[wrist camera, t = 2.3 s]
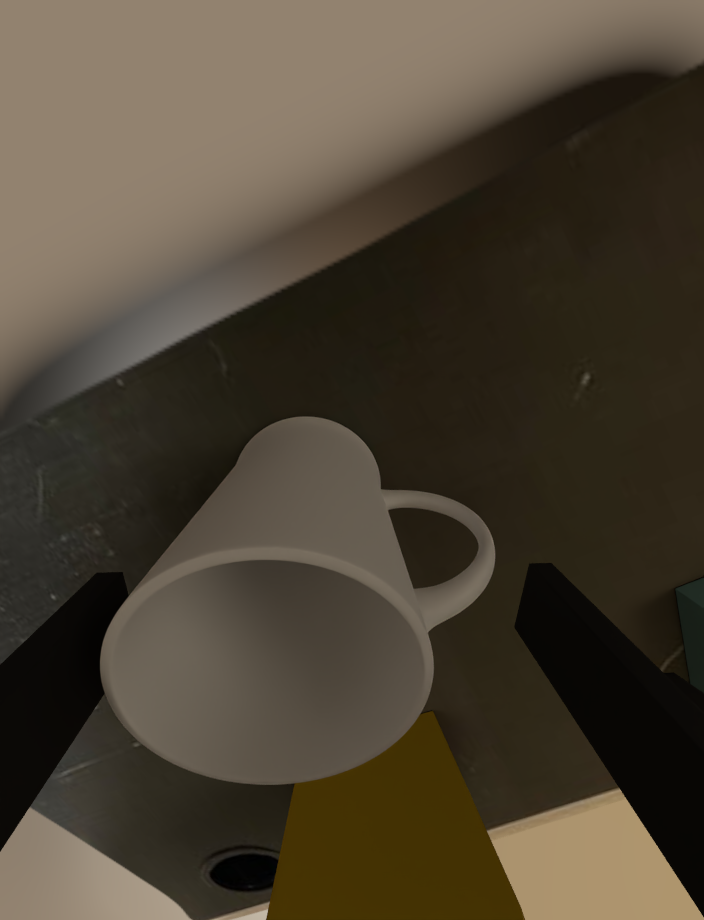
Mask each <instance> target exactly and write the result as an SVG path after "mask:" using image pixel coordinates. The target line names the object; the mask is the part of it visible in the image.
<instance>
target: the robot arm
mask: <svg viewBox="0 0 704 920" xmlns="http://www.w3.org/2000/svg"><path fill="white" fill-rule="evenodd" d="M128 596H129V595H128V591H127V587H126V583H125V579H124V576H123V572H107V573H96V574H95V575H94V576H93V577H92V578H91V579H90V580H89V581H88V582H87V583H86V584H85V585H83V586H82V587H81V588H80V589H79V590H78V591H77V592H76V593H75V594H74V595H73V596H72V597H71V598H70V599H69V600H68V601H67V602H66V603H65V604H64V605H63V606H61V607H60V608H59V609H58V610H57V611H56V612H55V613H54V614H53V615H52V616H51V617H50V618H49V619H48V620H47V621H46V622H45V623H44V624H43V625H42V626H40V627H39V628H38V629H37V630H36V631H35V632H34V633H33V634H32V635H31V636H30V637H29V638H28V639H27V640H26V641H25V642H24V643H23V644H22V645H21V646H20V647H18V648H17V649H16V650H15V651H14V652H13V653H12V654H11V655H10V656H9V657H8V658H7V659H6V660H5V661H4V662H3V663H2V664H1V665H0V851H1V850H2V848H3V847H4V845H5V844H6V842H7V840H8V839H9V837H10V836H11V835H12V833H13V832H14V830H15V828H16V827H17V825H18V824H19V822H20V821H21V819H22V818H23V816H24V815H25V813H26V812H27V810H28V809H29V807H30V806H31V804H32V803H33V801H34V800H35V798H36V797H37V795H38V794H39V792H40V791H41V789H42V788H43V786H44V784H45V783H46V781H47V780H48V778H49V777H50V775H51V774H52V772H53V771H54V769H55V768H56V766H57V765H58V763H59V762H60V760H61V759H62V757H63V756H64V754H65V753H66V751H67V750H68V748H69V747H70V745H71V744H72V742H73V741H74V739H75V737H76V736H77V734H78V733H79V731H80V730H81V728H82V727H83V725H84V724H85V722H86V721H87V719H88V718H89V716H90V715H91V713H92V712H93V710H94V709H95V707H96V706H97V704H98V703H99V701H100V700H101V698H102V697H103V695H104V694H105V692H104V689H103V685H102V681H101V674H100V656H101V649H102V644H103V640H104V637H105V634H106V632H107V629H108V627H109V625H110V623H111V621H112V619H113V618H114V616H115V614H116V613H117V611H118V610H119V608H120V607H121V606H122V604H123V603H124V602H125V600H126V599H127V598H128ZM515 629H516V631H517V632H518V634H519V635H520V637H521V638H522V640H523V641H524V643H525V644H526V646H527V647H528V649H529V650H530V652H531V653H532V655H533V657H534V658H535V660H536V661H537V663H538V664H539V666H540V667H541V669H542V670H543V672H544V673H545V675H546V676H547V678H548V679H549V681H550V683H551V684H552V686H553V687H554V689H555V690H556V692H557V693H558V695H559V696H560V698H561V699H562V701H563V702H564V704H565V705H566V707H567V709H568V710H569V712H570V713H571V715H572V716H573V718H574V719H575V721H576V722H577V724H578V725H579V727H580V728H581V730H582V732H583V733H584V735H585V736H586V738H587V739H588V741H589V742H590V744H591V745H592V747H593V748H594V750H595V751H596V753H597V754H598V756H599V758H600V759H601V761H602V762H603V764H604V765H605V767H606V768H607V770H608V771H609V773H610V774H611V776H612V777H613V779H614V780H615V782H616V784H617V785H618V787H619V788H620V790H621V791H622V793H623V794H624V796H625V797H626V799H627V800H628V802H629V803H630V805H631V806H632V808H633V810H634V811H635V813H636V814H637V816H638V817H639V819H640V820H641V822H642V823H643V825H644V826H645V828H646V829H647V831H648V832H649V834H650V836H651V837H652V839H653V840H654V841H655V843H656V845H657V846H658V848H659V849H660V851H661V852H662V854H663V855H664V857H665V858H666V860H667V862H668V863H669V865H670V866H671V867H672V869H673V871H674V872H675V874H676V875H677V877H678V878H679V880H680V881H681V883H682V885H683V886H684V888H685V889H686V890H687V892H688V893H689V895H690V897H691V898H692V900H693V901H694V903H695V904H696V906H697V907H698V909H699V911H700V912H701V914H702V915H703V917H704V693H703V692H702V691H700V690H699V689H697V688H696V687H694V686H693V685H691V684H690V683H688V682H687V681H685V680H684V679H683V678H681V677H680V676H678V675H677V674H675V673H663V672H662V671H661V670H660V669H659V668H658V667H657V666H656V665H655V664H654V663H653V662H652V661H651V660H650V659H649V658H648V657H647V656H646V655H645V654H644V653H643V652H641V651H640V650H639V649H638V648H637V647H636V646H635V645H634V644H633V643H632V642H631V641H630V640H629V639H628V638H627V637H626V636H625V635H624V634H623V633H622V632H621V631H620V630H619V629H618V628H617V627H616V626H615V625H614V624H613V623H612V622H611V621H610V620H609V619H608V618H607V617H606V616H605V615H604V614H603V613H602V612H601V611H600V610H599V609H598V608H597V607H596V606H595V605H594V604H593V603H591V602H590V601H589V600H588V599H587V598H586V597H585V596H584V595H583V594H582V593H581V592H580V591H579V590H578V589H577V588H576V587H575V586H574V585H573V584H572V583H571V582H570V581H569V580H568V579H567V578H566V577H565V576H564V575H563V574H562V573H561V572H560V571H559V570H558V569H557V568H556V567H555V566H554V565H553V564H552V563H532V564H529V567H528V572H527V576H526V580H525V584H524V588H523V593H522V597H521V601H520V605H519V610H518V614H517V618H516V622H515Z"/></svg>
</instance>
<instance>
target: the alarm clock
mask: <svg viewBox="0 0 704 920" xmlns="http://www.w3.org/2000/svg"><path fill="white" fill-rule="evenodd" d="M266 920H525V918H524V916H523V912H522V909H521V907H520V904H519V902H518V900H517V898H516V895H515V893H514V891H513V889H512V886H511V884H510V882H509V880H508V878H507V875H506V873H505V871H504V869H503V867H502V864H501V862H500V860H499V857H498V856H497V853H496V851H495V849H494V846H493V844H492V842H491V840H490V837H489V835H488V833H487V831H486V828H485V826H484V824H483V822H482V819H481V817H480V815H479V813H478V811H477V808H476V806H475V804H474V802H473V799H472V797H471V795H470V793H469V790H468V788H467V786H466V784H465V782H464V779H463V777H462V775H461V773H460V770H459V768H458V766H457V764H456V761H455V759H454V757H453V755H452V753H451V750H450V748H449V746H448V744H447V741H446V739H445V737H444V735H443V732H442V730H441V728H440V726H439V724H438V721H437V719H436V717H435V715H434V712H433V711H430V712H427V713H423V714H420V715H419V717H418V718H417V720H416V721H415V722H414V724H413V725H412V726H411V727H410V729H409V730H408V731H407V732H406V733H405V734H404V735H403V736H402V737H401V738H400V739H399V740H398V741H397V742H396V743H394V744H393V745H392V746H391V747H389V748H388V749H387V750H385V751H384V752H382V753H381V754H379V755H378V756H376V757H375V758H373V759H371V760H369V761H367V762H366V763H364V764H361V765H359V766H357V767H355V768H353V769H350V770H348V771H345V772H342V773H339V774H336V775H333V776H330V777H326V778H322V779H317V780H313V781H307V782H301V783H295V785H294V789H293V794H292V799H291V804H290V809H289V813H288V818H287V823H286V828H285V832H284V837H283V842H282V847H281V852H280V856H279V861H278V866H277V871H276V875H275V880H274V885H273V890H272V894H271V899H270V904H269V909H268V914H267V919H266Z"/></svg>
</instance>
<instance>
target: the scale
mask: <svg viewBox="0 0 704 920" xmlns="http://www.w3.org/2000/svg"><path fill="white" fill-rule="evenodd" d="M675 590H676V597H677V603H678V609H679V615H680V622H681V628H682V634H683V641H684V647H685V653H686V660H687V666H688V672H689V679H690V684H691V685H693V686H694V687H696V688H697V689H699V690H700V691H702V692H703V693H704V578H701V579H699V580H696V581H694V582H691V583H688V584H686V585H683V586H681V587H678V588H676V589H675Z"/></svg>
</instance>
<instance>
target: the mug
mask: <svg viewBox="0 0 704 920" xmlns="http://www.w3.org/2000/svg"><path fill="white" fill-rule="evenodd" d="M395 508H420V509H426V510H431V511H436V512H439V513H442V514H445V515H448V516H450V517H452V518H454V519H456V520H458V521H459V522H461V523H462V524H464V525H465V526H466V527H468V528H469V529H470V530H471V531H472V533H473V534H474V535H475V537H476V538H477V541H478V544H479V549H478V553H477V555H476V557H475V559H474V561H473V562H472V563H471V564H470V565H469V567H468V568H466V569H465V570H464V571H463V572H462V573H460V574H459V575H457V576H456V577H454V578H452V579H451V580H449V581H447V582H444V583H442V584H439V585H436V586H431V587H426V588H419V589H413V586H412V583H411V580H410V577H409V574H408V571H407V568H406V565H405V562H404V559H403V556H402V553H401V550H400V547H399V544H398V541H397V538H396V535H395V531H394V528H393V525H392V522H391V519H390V516H389V513H388V510H390V509H395ZM494 564H495V547H494V542H493V539H492V536H491V533H490V531H489V529H488V528H487V526H486V525H485V523H484V522H483V521H482V519H481V518H480V517H479V516H478V515H477V514H476V513H474V512H473V511H472V510H470V509H469V508H468V507H466V506H464V505H463V504H461V503H459V502H457V501H454V500H452V499H449V498H447V497H444V496H440V495H436V494H432V493H427V492H421V491H411V490H383V489H381V481H380V474H379V469H378V466H377V463H376V461H375V458H374V456H373V454H372V453H371V451H370V449H369V448H368V447H367V445H366V444H365V443H364V442H363V441H362V440H361V439H360V438H359V437H358V436H357V435H356V434H355V433H354V432H352V431H351V430H349V429H348V428H346V427H344V426H343V425H341V424H338V423H336V422H333V421H331V420H327V419H323V418H318V417H293V418H288V419H284V420H281V421H278V422H276V423H273V424H271V425H269V426H267V427H266V428H264V429H263V430H261V431H260V432H259V433H257V434H256V435H255V436H254V437H253V438H252V439H251V440H250V441H249V442H248V443H247V445H246V446H245V447H244V449H243V451H242V452H241V454H240V456H239V458H238V461H237V464H236V465H235V467H234V468H233V469H232V470H231V472H230V473H229V474H228V475H227V477H226V478H225V479H224V480H223V481H222V483H221V484H220V485H219V486H218V488H217V489H216V490H215V491H214V492H213V494H212V495H211V496H210V497H209V499H208V500H207V501H206V502H205V503H204V505H203V506H202V507H201V508H200V510H199V511H198V512H197V513H196V514H195V516H194V517H193V518H192V519H191V521H190V522H189V523H188V524H187V525H186V527H185V528H184V529H183V530H182V531H181V533H180V534H179V535H178V536H177V538H176V539H175V540H174V541H173V542H172V544H171V545H170V546H169V547H168V549H167V550H166V551H165V552H164V553H163V555H162V556H161V557H160V558H159V560H158V561H157V562H156V563H155V564H154V566H153V567H152V568H151V569H150V571H149V572H148V573H147V574H146V575H145V577H144V578H143V579H142V580H141V582H140V583H139V584H138V585H137V587H136V588H135V589H134V590H133V591H132V593H131V594H130V595H129V596H128V598H127V599H126V600H125V602H124V603H123V604H122V606H121V607H120V608H119V610H118V611H117V613H116V614H115V616H114V618H113V619H112V621H111V623H110V625H109V627H108V629H107V632H106V634H105V637H104V640H103V644H102V649H101V656H100V674H101V681H102V685H103V689H104V692H105V695H106V698H107V700H108V702H109V704H110V706H111V708H112V710H113V712H114V713H115V715H116V716H117V718H118V719H119V721H120V722H121V723H122V725H123V726H124V727H125V728H126V729H127V730H128V731H129V732H130V733H131V734H132V735H133V736H134V737H135V738H136V739H137V740H138V741H139V742H140V743H142V744H143V745H144V746H145V747H147V748H148V749H149V750H151V751H152V752H154V753H155V754H157V755H159V756H160V757H162V758H164V759H165V760H167V761H169V762H171V763H173V764H175V765H177V766H179V767H182V768H184V769H187V770H189V771H192V772H195V773H198V774H201V775H204V776H207V777H211V778H215V779H220V780H225V781H230V782H236V783H245V784H259V785H279V784H292V783H301V782H307V781H313V780H317V779H322V778H326V777H330V776H333V775H336V774H339V773H342V772H345V771H348V770H350V769H353V768H355V767H357V766H359V765H361V764H364V763H366V762H367V761H369V760H371V759H373V758H375V757H376V756H378V755H379V754H381V753H382V752H384V751H385V750H387V749H388V748H389V747H391V746H392V745H393V744H394V743H396V742H397V741H398V740H399V739H400V738H401V737H402V736H403V735H404V734H405V733H406V732H407V731H408V730H409V729H410V727H411V726H412V725H413V724H414V722H415V721H416V720H417V718H418V717H419V715H420V713H421V712H422V710H423V708H424V706H425V704H426V702H427V699H428V696H429V693H430V690H431V686H432V681H433V672H434V661H433V653H432V647H431V643H430V639H429V636H428V632H429V631H430V629H432V628H433V627H434V626H436V625H438V624H440V623H442V622H443V621H445V620H447V619H449V618H451V617H453V616H455V615H456V614H458V613H460V612H461V611H463V610H464V609H465V608H467V607H468V606H469V605H470V604H471V603H473V602H474V601H475V600H476V599H477V598H478V597H479V595H480V594H481V593H482V592H483V590H484V589H485V587H486V586H487V584H488V582H489V580H490V578H491V576H492V573H493V569H494Z"/></svg>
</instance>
